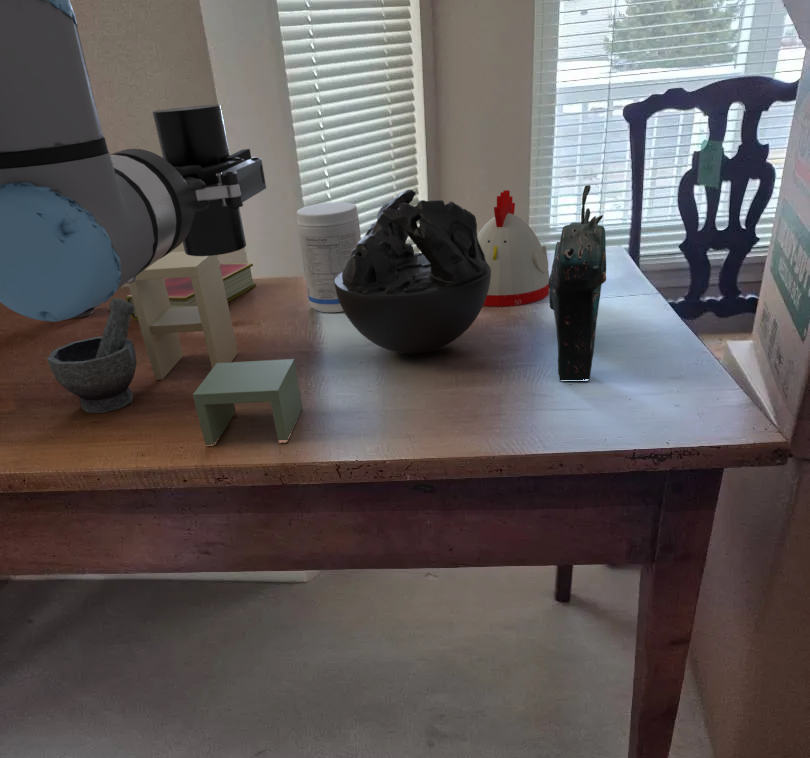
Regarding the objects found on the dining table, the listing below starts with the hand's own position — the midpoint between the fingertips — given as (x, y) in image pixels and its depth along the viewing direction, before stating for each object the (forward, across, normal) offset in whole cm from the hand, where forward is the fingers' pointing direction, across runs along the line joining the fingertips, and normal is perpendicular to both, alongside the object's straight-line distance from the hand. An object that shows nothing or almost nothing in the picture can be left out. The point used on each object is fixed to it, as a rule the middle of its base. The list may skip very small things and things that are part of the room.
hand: (215, 167), depth 73 cm
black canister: (-5, 0, -7) cm, 8 cm away
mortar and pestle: (+3, -20, -26) cm, 33 cm away
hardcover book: (+46, -22, -26) cm, 58 cm away
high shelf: (+14, -12, -26) cm, 32 cm away
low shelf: (-6, +1, -25) cm, 26 cm away
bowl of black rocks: (+16, +18, -26) cm, 35 cm away
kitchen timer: (+40, +31, -26) cm, 57 cm away
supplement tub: (+39, +4, -26) cm, 47 cm away
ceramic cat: (+10, +38, -26) cm, 47 cm away
